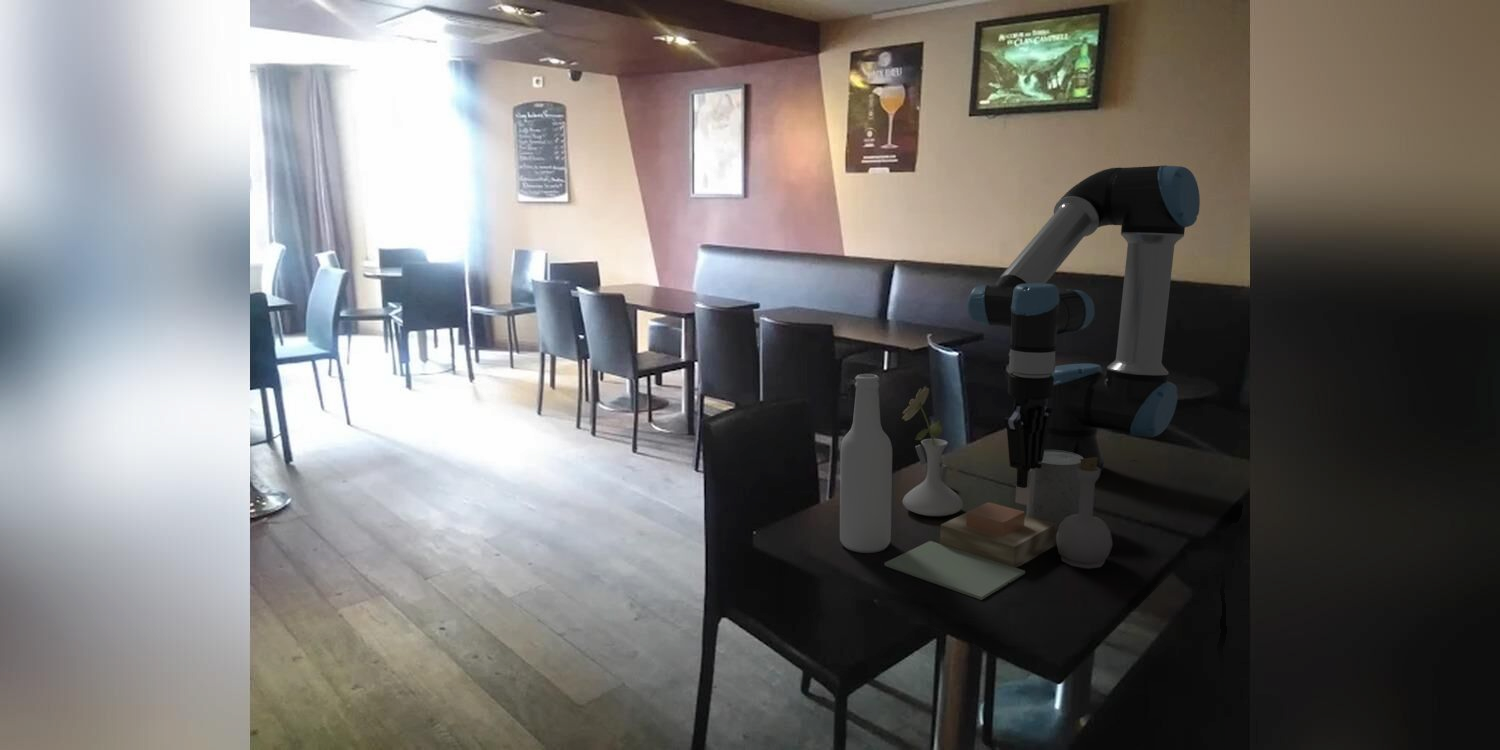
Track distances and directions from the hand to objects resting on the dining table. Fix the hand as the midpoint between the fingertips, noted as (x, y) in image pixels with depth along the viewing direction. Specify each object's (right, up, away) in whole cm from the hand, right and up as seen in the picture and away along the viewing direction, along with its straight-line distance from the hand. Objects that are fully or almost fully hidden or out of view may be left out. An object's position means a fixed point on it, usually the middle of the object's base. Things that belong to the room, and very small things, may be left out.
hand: (1024, 503), depth 156 cm
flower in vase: (-15, -4, +12) cm, 19 cm away
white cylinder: (+7, -4, +7) cm, 11 cm away
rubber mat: (-16, -9, -14) cm, 23 cm away
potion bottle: (+6, -8, -11) cm, 15 cm away
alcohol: (-29, -7, -3) cm, 30 cm away
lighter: (-11, 0, +29) cm, 31 cm away
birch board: (-6, -7, -5) cm, 10 cm away
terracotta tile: (-7, -3, -6) cm, 10 cm away
